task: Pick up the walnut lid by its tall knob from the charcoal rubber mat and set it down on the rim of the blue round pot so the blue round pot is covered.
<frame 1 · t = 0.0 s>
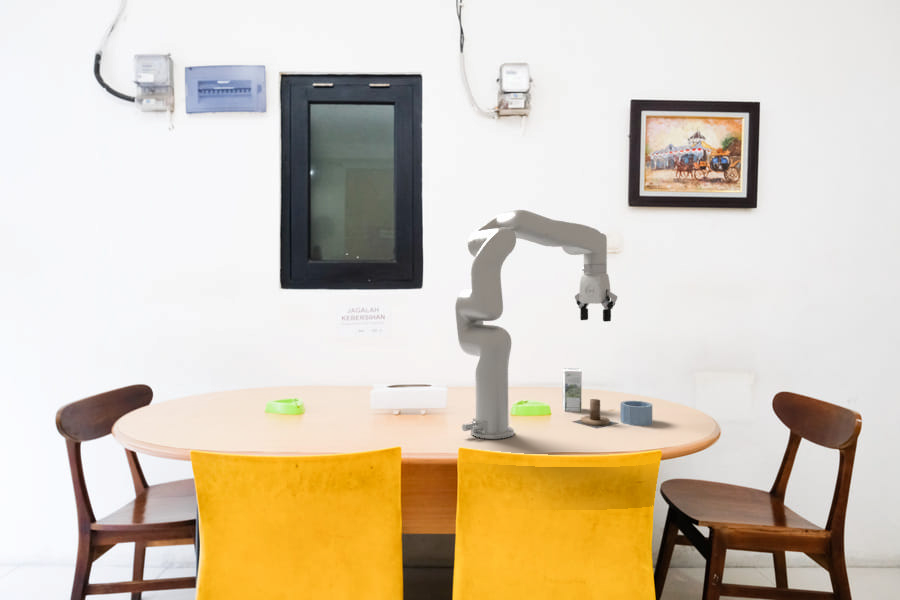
hand: (595, 320, 179), 31 cm above the table, tool pointing down, fingers open, 9 cm apart
mat: (595, 423, 165), on the table
lid: (595, 422, 165), resting on mat
blue round pot: (636, 422, 165), on the table
syrup box: (572, 411, 182), on the table
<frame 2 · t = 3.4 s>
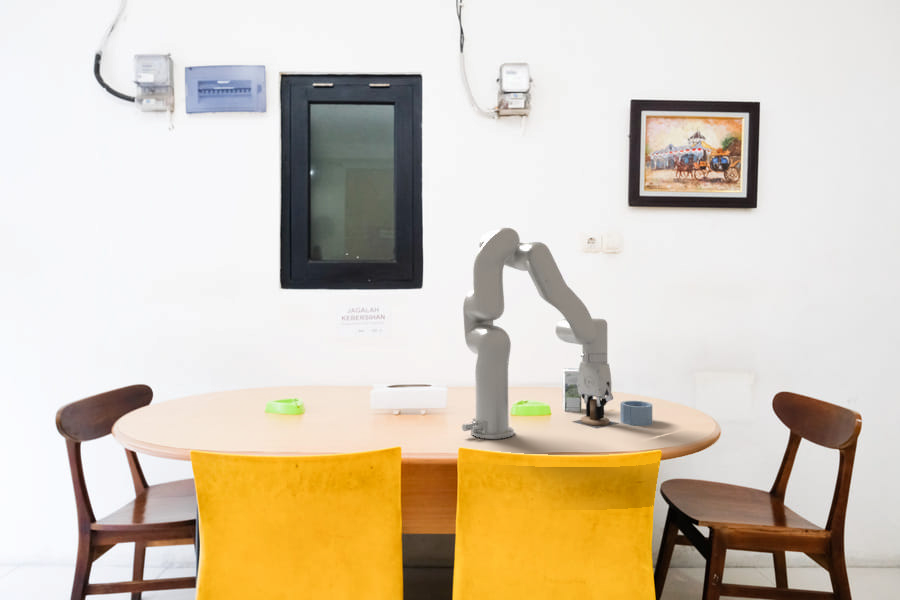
hand: (594, 416, 165), 2 cm above the table, tool pointing down, fingers closed on lid, 3 cm apart
lid: (594, 422, 165), resting on mat, touching gripper
everything else where it was.
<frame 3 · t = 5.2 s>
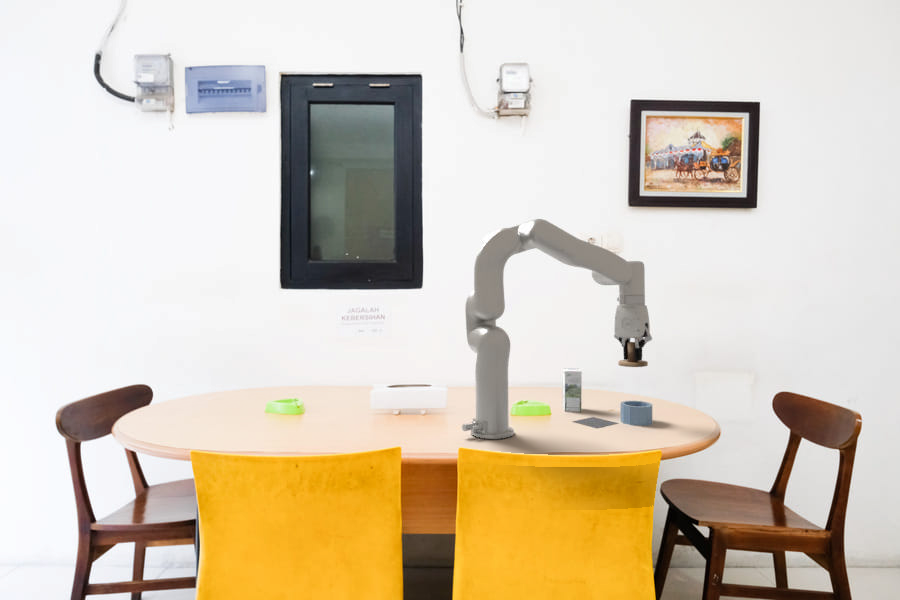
hand: (632, 359, 165), 20 cm above the table, tool pointing down, fingers closed on lid, 3 cm apart
lid: (632, 364, 165), point 18 cm above the table, touching gripper
everything else where it was.
when the fingers open (9 cm above the table, at t = 7.5 s): lid drops 1 cm, resting on blue round pot.
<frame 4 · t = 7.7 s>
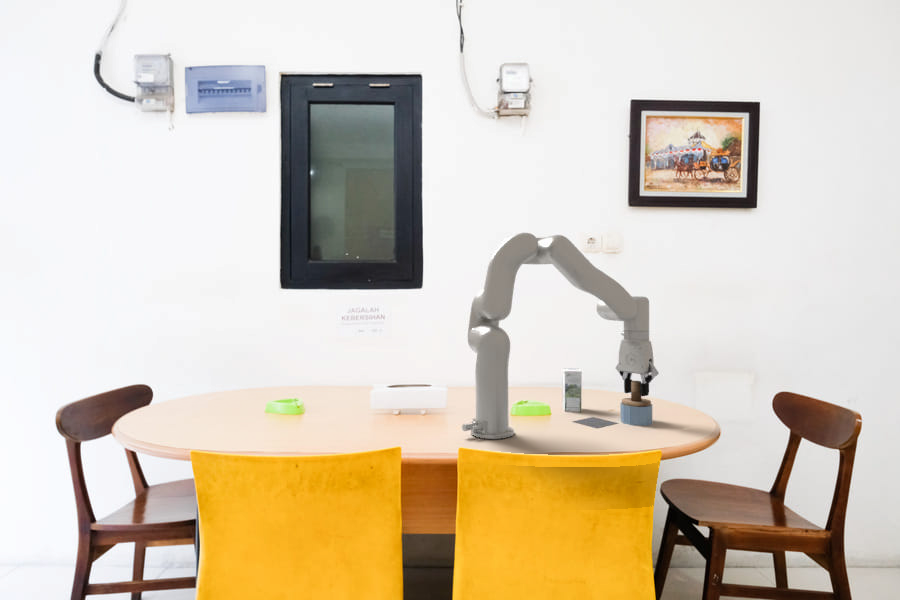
hand: (636, 393, 165), 9 cm above the table, tool pointing down, fingers open, 5 cm apart
lid: (636, 403, 165), point 6 cm above the table, touching blue round pot
everything else where it was.
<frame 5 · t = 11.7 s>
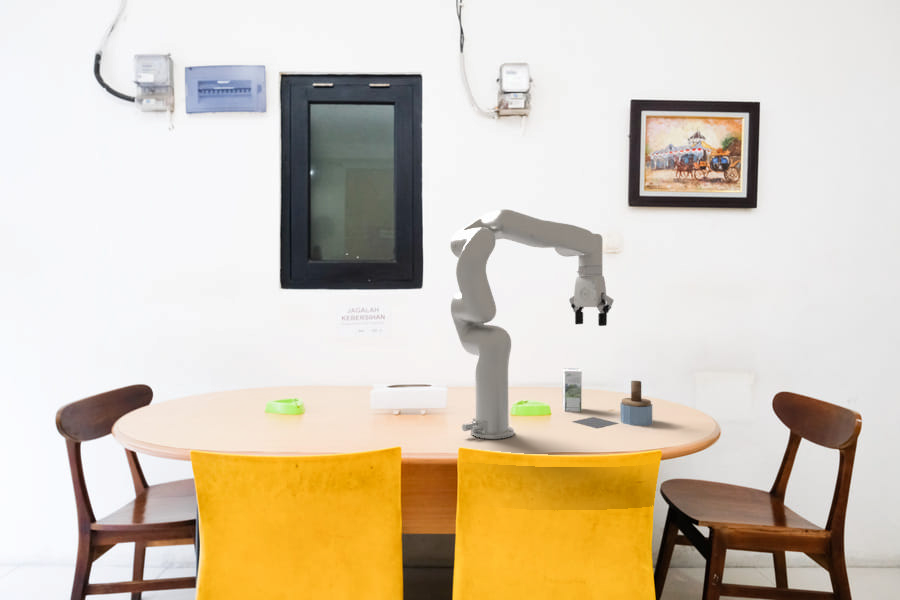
hand: (590, 324, 172), 30 cm above the table, tool pointing down, fingers open, 9 cm apart
nothing on the table moved.
at the end: lid 0.0 cm off-centre on the blue round pot, point 6.0 cm above the blue round pot's base; lid tilted 0°; the gripper is holding nothing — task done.
